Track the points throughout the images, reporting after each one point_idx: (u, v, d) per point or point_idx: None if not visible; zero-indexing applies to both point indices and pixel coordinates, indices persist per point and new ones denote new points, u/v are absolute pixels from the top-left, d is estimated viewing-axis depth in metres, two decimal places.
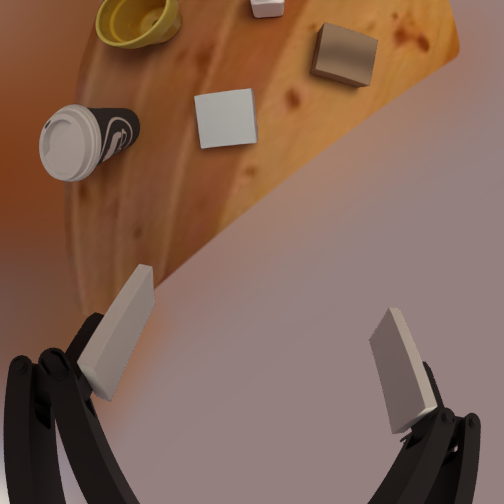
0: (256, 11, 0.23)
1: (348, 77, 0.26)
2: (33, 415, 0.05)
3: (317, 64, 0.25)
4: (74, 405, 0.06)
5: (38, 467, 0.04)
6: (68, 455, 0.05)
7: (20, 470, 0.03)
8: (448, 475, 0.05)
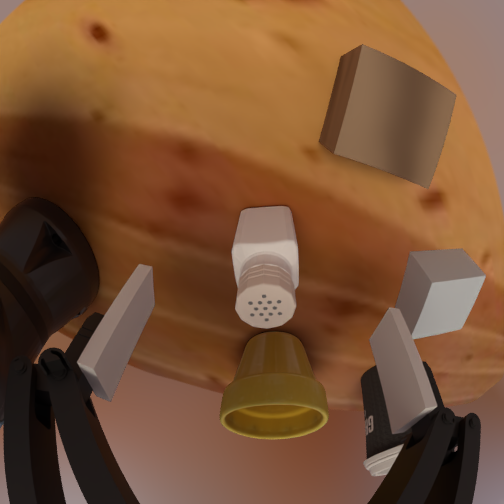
0: None
1: (445, 131, 0.12)
2: (33, 415, 0.05)
3: (421, 184, 0.14)
4: (74, 405, 0.06)
5: (38, 467, 0.04)
6: (68, 455, 0.05)
7: (19, 470, 0.03)
8: (448, 475, 0.05)
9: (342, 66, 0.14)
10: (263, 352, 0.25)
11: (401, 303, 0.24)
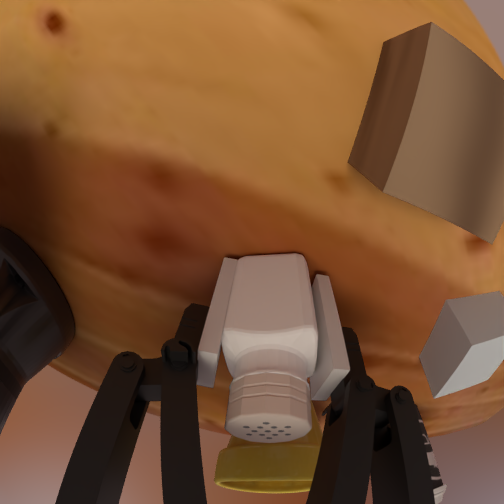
0: None
1: None
2: (127, 416, 0.07)
3: (486, 238, 0.09)
4: (187, 398, 0.08)
5: (112, 467, 0.05)
6: (162, 443, 0.06)
7: (90, 465, 0.05)
8: (390, 461, 0.07)
9: (388, 55, 0.08)
10: None
11: (427, 355, 0.18)
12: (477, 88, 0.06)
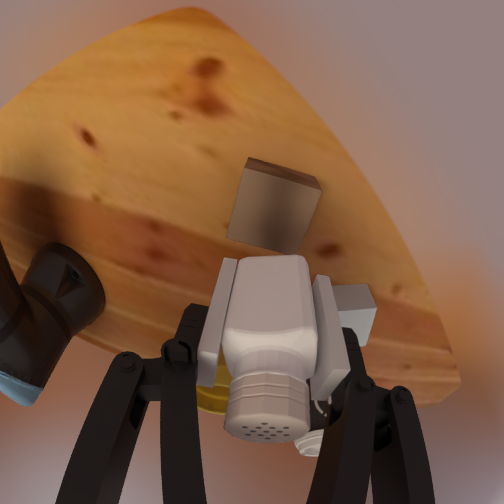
0: None
1: (309, 218, 0.24)
2: (127, 416, 0.07)
3: (290, 253, 0.26)
4: (187, 398, 0.08)
5: (112, 467, 0.05)
6: (162, 443, 0.06)
7: (90, 465, 0.05)
8: (390, 461, 0.07)
9: None
10: None
11: None
12: (269, 191, 0.23)
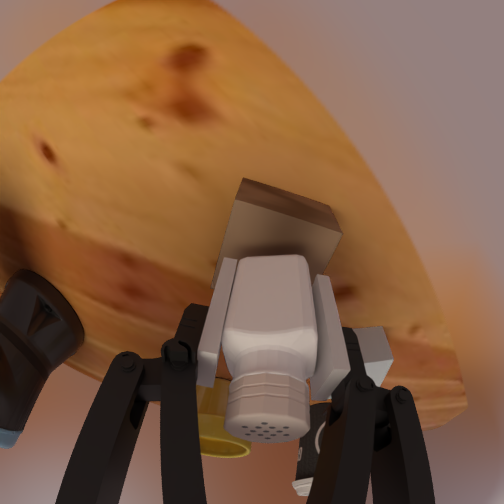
0: None
1: (323, 268, 0.18)
2: (127, 416, 0.07)
3: None
4: (187, 398, 0.08)
5: (112, 467, 0.05)
6: (162, 443, 0.06)
7: (90, 465, 0.05)
8: (390, 461, 0.07)
9: None
10: (202, 395, 0.30)
11: None
12: (269, 232, 0.17)
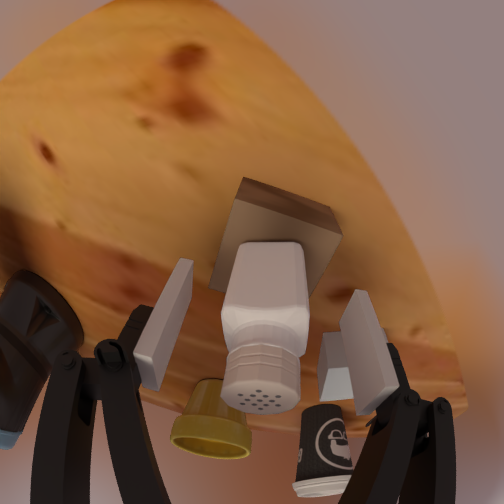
0: None
1: (322, 270, 0.18)
2: (75, 412, 0.06)
3: None
4: (126, 398, 0.07)
5: (71, 464, 0.05)
6: (110, 446, 0.05)
7: (50, 464, 0.04)
8: (423, 465, 0.06)
9: None
10: (202, 396, 0.30)
11: (318, 369, 0.29)
12: (269, 232, 0.16)
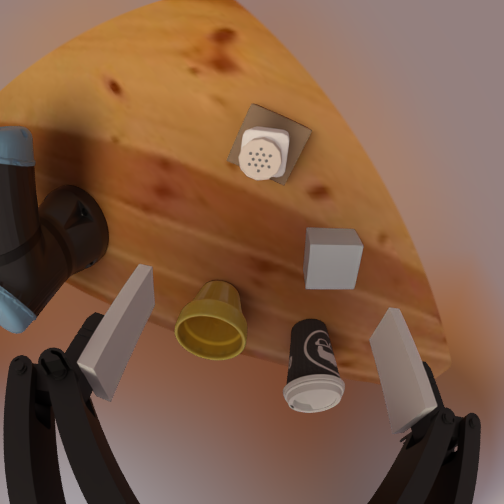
0: None
1: (299, 152, 0.28)
2: (33, 415, 0.05)
3: (279, 182, 0.29)
4: (74, 405, 0.06)
5: (38, 467, 0.04)
6: (68, 455, 0.05)
7: (20, 469, 0.03)
8: (448, 475, 0.05)
9: None
10: (207, 290, 0.40)
11: (304, 265, 0.39)
12: (268, 124, 0.26)
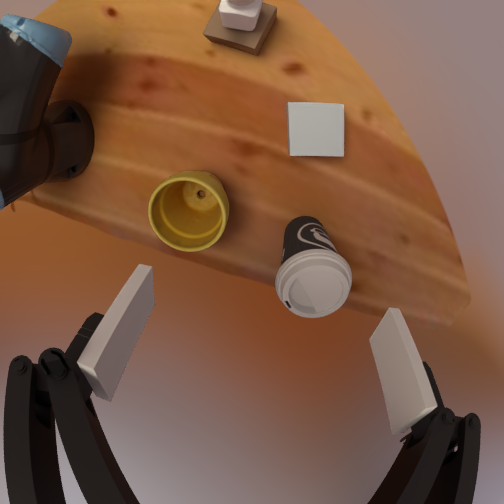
0: (255, 22, 0.21)
1: (266, 22, 0.24)
2: (33, 415, 0.05)
3: (250, 46, 0.25)
4: (74, 405, 0.06)
5: (38, 467, 0.04)
6: (68, 455, 0.05)
7: (20, 470, 0.03)
8: (448, 475, 0.05)
9: None
10: None
11: None
12: None
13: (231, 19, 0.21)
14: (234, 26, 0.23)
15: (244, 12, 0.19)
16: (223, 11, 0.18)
